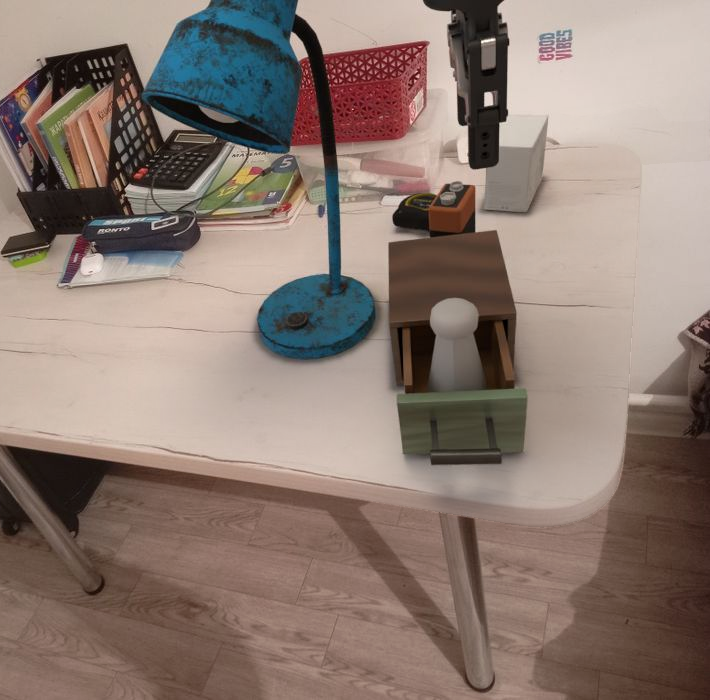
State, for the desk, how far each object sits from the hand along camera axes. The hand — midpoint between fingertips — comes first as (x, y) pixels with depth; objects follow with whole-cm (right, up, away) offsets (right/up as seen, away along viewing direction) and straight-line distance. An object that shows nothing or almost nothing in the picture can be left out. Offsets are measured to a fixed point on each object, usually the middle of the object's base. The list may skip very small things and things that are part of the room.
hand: (476, 143), depth 53 cm
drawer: (+3, -25, +13) cm, 28 cm away
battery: (+10, -4, +36) cm, 37 cm away
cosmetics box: (+22, +6, +43) cm, 49 cm away
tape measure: (+8, +1, +42) cm, 43 cm away
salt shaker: (+3, -23, +13) cm, 27 cm away
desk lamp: (-11, -15, +31) cm, 36 cm away
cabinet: (+5, -16, +23) cm, 29 cm away
